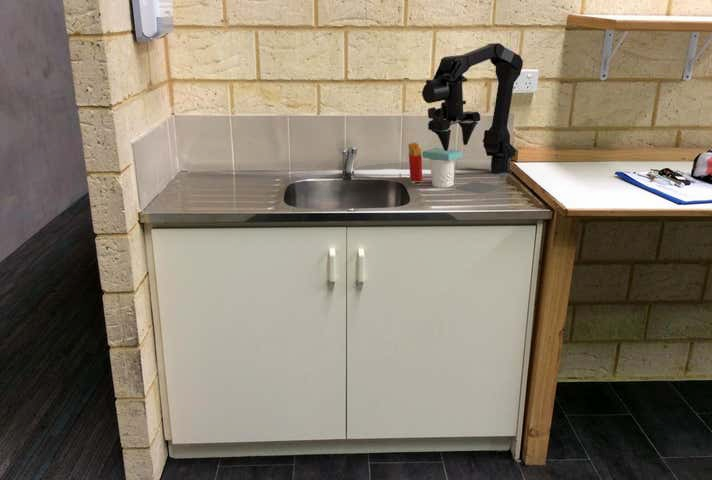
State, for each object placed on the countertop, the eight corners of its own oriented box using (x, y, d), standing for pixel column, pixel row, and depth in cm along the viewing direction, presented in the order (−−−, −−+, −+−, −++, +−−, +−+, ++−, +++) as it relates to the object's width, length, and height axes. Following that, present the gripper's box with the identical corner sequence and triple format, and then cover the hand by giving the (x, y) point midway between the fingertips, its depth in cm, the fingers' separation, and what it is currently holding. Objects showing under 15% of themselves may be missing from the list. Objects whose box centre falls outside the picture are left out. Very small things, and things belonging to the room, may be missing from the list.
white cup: (454, 190, 193) (453, 159, 190) (430, 191, 195) (428, 160, 192) (455, 184, 200) (455, 154, 197) (432, 184, 202) (430, 155, 199)
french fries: (422, 183, 205) (420, 145, 200) (410, 184, 205) (408, 146, 201) (422, 177, 213) (420, 140, 209) (410, 178, 214) (408, 141, 209)
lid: (436, 153, 200) (435, 147, 200) (462, 157, 192) (462, 150, 192) (422, 157, 196) (422, 151, 196) (448, 161, 188) (448, 154, 188)
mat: (473, 184, 198) (473, 181, 198) (503, 189, 189) (503, 186, 189) (453, 191, 192) (453, 188, 192) (483, 196, 183) (483, 193, 183)
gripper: (453, 93, 200) (456, 140, 205) (413, 102, 189) (417, 151, 194) (480, 94, 192) (482, 142, 197) (440, 103, 181) (443, 154, 186)
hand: (455, 147), depth 194 cm, fingers open, 9 cm apart
